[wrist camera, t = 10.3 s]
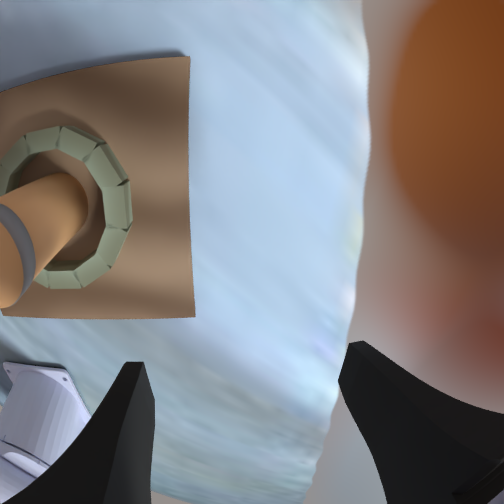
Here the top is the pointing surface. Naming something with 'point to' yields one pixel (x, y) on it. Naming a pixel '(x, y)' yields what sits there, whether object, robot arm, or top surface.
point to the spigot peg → (36, 229)
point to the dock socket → (109, 187)
